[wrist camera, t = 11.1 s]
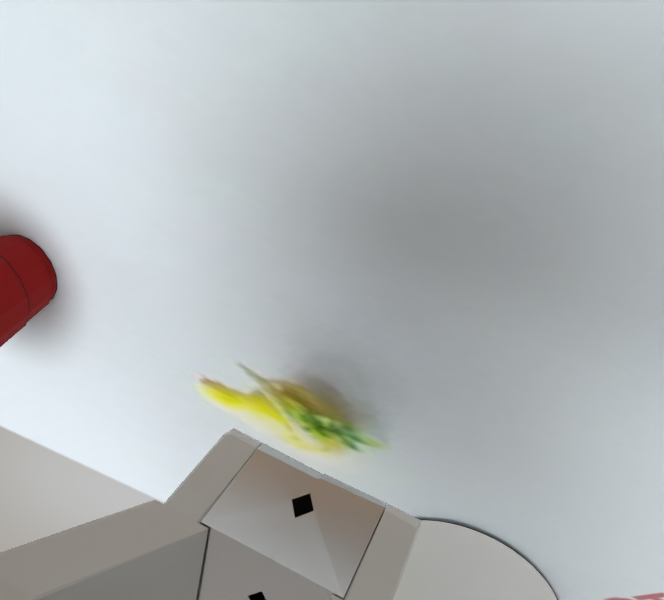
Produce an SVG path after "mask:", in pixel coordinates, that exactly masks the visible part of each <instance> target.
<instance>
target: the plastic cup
mask: <svg viewBox="0 0 664 600" xmlns="http://www.w3.org/2000/svg"><path fill="white" fill-rule="evenodd" d="M56 289H57V284H56V275H55V272H54V270H53V267H52V264H51V262H50V261H49V259H48V258H47V256H46V255H45V254H44V252H43V251H42V250H41V249H40V248H39V247H38V246H37V245H36V244H34V243H33V242H32V241H31V240H29V239H27V238H24V237H22V236H20V235H8V236H0V347H1V346H2V345H3V344H4V343H5V342H7V341H8V340H9V339H10V338H11V337H12V336H14V335H15V334H16V333H17V332H18V331H19V330H21V329H22V328H23V327H24V326H25V325H26V323H27V322H28V321H29V320H30V319H31V318H32V317H33V316H35V315H36V314H37V313H38V312H39V311H40V310H42V309H43V308H44V307H45V306H46V305H47V304H49V301H50V300H51V299H52V298H53V297H54V294H55V292H56Z"/></svg>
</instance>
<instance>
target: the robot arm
mask: <svg viewBox="0 0 664 600" xmlns="http://www.w3.org/2000/svg"><path fill="white" fill-rule="evenodd" d="M386 505H387V503H385V502H383V501H381V500H379V499H377V498H374V497H372V496H370V495H368V494H366V493H364V492H362V491H360V490H358V489H355V488H353V487H351V486H349V485H347V484H345V483H343V482H341V481H339V480H336V479H334V478H332V477H330V476H328V475H326V474H322V473H320V472H318V471H316V470H314V469H312V468H310V467H308V466H306V465H304V464H302V463H301V462H299V461H297V460H295V459H293V458H291V457H289V456H287V455H285V454H283V453H281V452H279V451H277V450H276V449H274V448H272V447H270V446H268V445H266V444H264V443H261V442H259V441H257V440H255V439H253V438H252V437H250V436H248V435H246V434H244V433H242V432H240V431H238V430H236V429H232V430H230V431H229V432H227V433H225V434H224V435H223V436H222V437H221V439H220V440H219V441H218V442H217V443H216V444H215V445H214V447H213V448H212V449H211V450H210V451H209V452H208V453H207V455H206V456H205V457H204V458H203V459H202V460H201V462H200V463H199V464H198V465H197V466H196V467H195V468H194V470H193V471H192V472H191V473H190V474H189V475H188V477H187V478H186V479H185V480H184V481H183V482H182V483H181V485H180V486H179V487H178V488H177V489H176V490H175V492H174V493H173V494H172V495H171V496H170V497H169V498H168V500H167V501H166V502H165V503H164V504H163V503H161V502H159V501H157V500H152V501H149V502H146V503H143V504H140V505H137V506H134V507H131V508H128V509H126V510H123V511H120V512H117V513H114V514H111V515H108V516H105V517H102V518H100V519H97V520H94V521H91V522H88V523H85V524H82V525H79V526H76V527H73V528H71V529H68V530H65V531H62V532H59V533H56V534H53V535H50V536H48V537H44V538H41V539H39V540H36V541H33V542H30V543H27V544H24V545H21V546H18V547H15V548H13V549H10V550H7V551H4V552H1V553H0V600H557V598H556V596H555V594H554V593H553V591H552V589H551V588H550V586H549V585H548V583H547V582H546V580H545V579H544V578H543V577H542V576H541V574H540V573H539V572H538V571H537V570H536V569H535V568H534V567H533V566H532V565H531V564H530V563H529V562H527V561H526V560H525V559H524V558H523V557H521V556H520V555H519V554H517V553H516V552H515V551H513V550H512V549H510V548H509V547H507V546H505V545H504V544H502V543H500V542H499V541H497V540H495V539H493V538H491V537H489V536H487V535H484V534H482V533H480V532H477V531H475V530H472V529H469V528H466V527H463V526H459V525H455V524H451V523H445V522H439V521H426V520H419V519H417V518H415V517H413V516H411V515H409V514H407V513H405V512H403V511H401V510H399V509H396V508H394V507H392V506H390V505H387V507H386ZM385 508H386V509H385Z"/></svg>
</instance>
